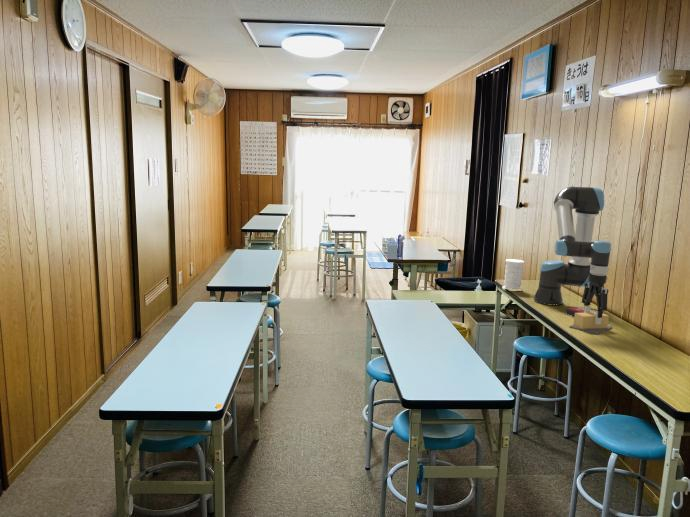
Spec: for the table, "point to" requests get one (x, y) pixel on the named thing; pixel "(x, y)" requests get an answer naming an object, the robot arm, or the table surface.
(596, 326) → the ochre block
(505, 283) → the decorative container
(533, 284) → the table surface
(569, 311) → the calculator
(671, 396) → the table surface
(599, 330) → the charcoal mat
